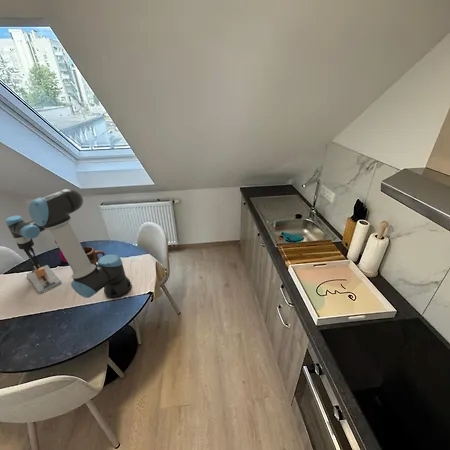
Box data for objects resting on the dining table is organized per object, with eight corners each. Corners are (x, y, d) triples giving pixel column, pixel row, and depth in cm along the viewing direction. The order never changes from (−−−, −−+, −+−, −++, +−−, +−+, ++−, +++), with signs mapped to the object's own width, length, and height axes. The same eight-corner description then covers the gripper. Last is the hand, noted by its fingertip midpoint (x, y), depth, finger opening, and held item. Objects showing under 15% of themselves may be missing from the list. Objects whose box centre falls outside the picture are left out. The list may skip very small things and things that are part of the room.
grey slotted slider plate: (61, 283, 154) (60, 280, 153) (39, 294, 147) (38, 290, 145) (48, 267, 168) (46, 264, 167) (27, 276, 160) (25, 273, 159)
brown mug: (107, 258, 176) (102, 242, 169) (108, 268, 166) (102, 251, 159) (75, 266, 169) (69, 249, 162) (74, 277, 159) (67, 259, 152)
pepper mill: (68, 263, 172) (58, 238, 162) (59, 261, 173) (49, 237, 163) (76, 256, 178) (66, 232, 168) (67, 255, 179) (57, 232, 169)
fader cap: (46, 274, 159) (43, 268, 156) (37, 278, 155) (34, 272, 153) (45, 272, 160) (42, 266, 158) (36, 276, 157) (33, 270, 154)
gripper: (35, 241, 146) (49, 273, 157) (28, 234, 153) (42, 264, 165) (19, 247, 141) (36, 279, 153) (13, 239, 148) (29, 270, 160)
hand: (39, 271), depth 159 cm, fingers closed
